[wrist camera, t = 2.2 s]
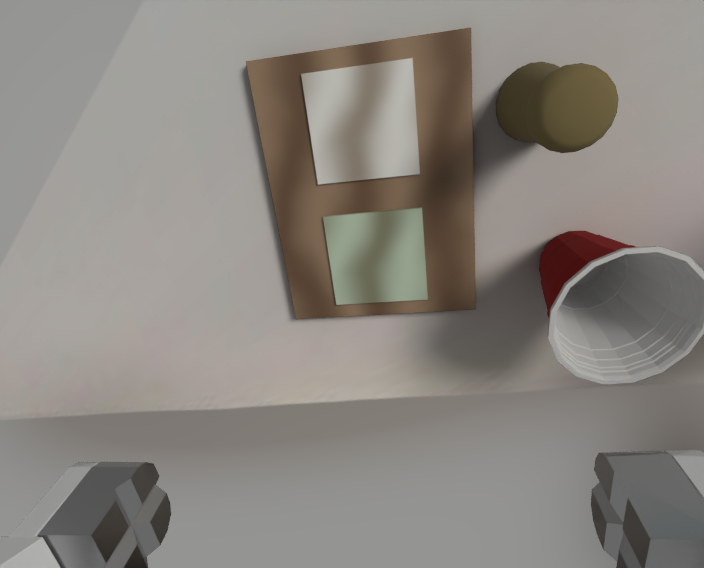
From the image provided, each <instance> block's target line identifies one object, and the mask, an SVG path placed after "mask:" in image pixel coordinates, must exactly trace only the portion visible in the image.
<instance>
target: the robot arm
mask: <svg viewBox="0 0 704 568" xmlns="http://www.w3.org/2000/svg"><path fill="white" fill-rule="evenodd" d="M594 470H595V472H596V475H597V477H598V479H599V481H600V482H599V484H597V485H596V486H595V487H594V488H593V489H592V496H591V508H592V515H593V521H594V525H595V528H596V532H597V535H598V537H599V540H600V542H601V545H602V547H603V549H604V551H606V552H607V553H608V554H609V555H610V556H611V557H613V558H614V559H615V560H616V561H617V567H616V568H704V453H703V452H701V451H700V450H678V451H664V452H662V451H646V452H612V453H611V452H610V453H599V454H598V455H597V457H596V460H595V468H594ZM158 478H159V474H158V472H157V470H156V468H155V466H154V464H152V463H147V462H78V463H76V464H74V465H72V466H70V467H69V468H68V469H67V470H66V471H65V472H64V474H63V475H62V476H61V477H60V478H59V479H58V481H57V482H56V483H55V484H54V485H53V486H52V487H51V488H50V490H49V491H48V492H47V493H46V494H45V495H44V497H43V498H42V499H41V500H40V501H39V502H38V504H37V505H36V506H35V507H34V508H33V509H32V510H31V511H30V513H29V514H28V515H27V516H26V517H25V518H24V520H23V521H22V522H21V523H20V524H19V525H18V527H17V528H16V529H15V530H14V531H13V532H12V533H11V535H10V536H7V537H0V568H148V564H147V556H148V555H149V554H150V553H152V552H153V551H154V550H155V549H156V548H158V547H159V546H160V545H161V543H162V541H163V539H164V537H165V534H166V532H167V530H168V525H169V521H170V516H171V509H170V501H169V499H168V496H167V493H166V492H164V491H163V490H162V489H161V488H159V487H158V486H157V485H156V483H157V480H158Z"/></svg>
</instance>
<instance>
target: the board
mask: <svg viewBox="0 0 704 568" xmlns="http://www.w3.org/2000/svg"><path fill="white" fill-rule="evenodd" d="M246 65H247V70H248V75H249V80H250V86H251V91H252V96H253V101H254V106H255V111H256V116H257V122H258V127H259V132H260V137H261V142H262V147H263V152H264V157H265V163H266V168H267V173H268V178H269V183H270V188H271V193H272V199H273V204H274V209H275V214H276V219H277V224H278V229H279V234H280V240H281V245H282V250H283V255H284V260H285V265H286V270H287V276H288V281H289V286H290V291H291V296H292V301H293V306H294V312H295V317H296V319H306V318H325V317H344V316H362V315H381V314H399V313H418V312H437V311H455V310H474V309H476V296H475V237H474V178H473V119H472V60H471V28H466V29H459V30H452V31H446V32H439V33H432V34H426V35H419V36H412V37H406V38H399V39H392V40H386V41H379V42H373V43H366V44H359V45H353V46H346V47H339V48H333V49H326V50H319V51H313V52H306V53H300V54H293V55H286V56H280V57H273V58H266V59H260V60H253V61H246Z"/></svg>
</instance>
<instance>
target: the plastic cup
mask: <svg viewBox="0 0 704 568" xmlns="http://www.w3.org/2000/svg"><path fill="white" fill-rule="evenodd" d="M539 271H540V275H541V285H542V289H543V293H544V297H545V301H546V305H547V309H548V317H549V327H548V339H549V341H550V344H551V346H552V349H553V351H554V354H555V356H556V358H557V361H558V362H560V363H561V364H562V365H563V366H564V367H566V368H567V369H568V370H569V371H570V372H571V373H573V374H574V375H575V376H576V377H579V378H583V379H586V380H590V381H593V382H596V383H600V384H620V383H634V382H636V381H639V380H642V379H645V378H648V377H651V376H654V375H657V374H659V373H662V372H664V371H665V370H667V369H668V368H669V367H671V366H672V365H674V364H675V363H676V362H678V361H679V360H681V359H682V358H683V357H685V356H686V355H688V354H689V353H690V351H691V350H692V349H693V347H694V346H695V345H696V343H697V342H698V341H699V339H700V338H701V337H702V335H703V334H704V271H703V270H702V269H701V268H700V267H699V266H698V265H697V264H696V263H695V262H694V261H693V260H692V258H691V257H690V256H687V255H684V254H681V253H678V252H675V251H672V250H669V249H666V248H662V247H659V246H650V247H635V246H632V245H626V244H624V243H621V242H618V241H615V240H612V239H609V238H606V237H603V236H600V235H596V234H593V233H590V232H587V231H568V232H566V233H564V234H561V235H559V236H556V237H555V238H554V239H553V240H552V241H550V242H549V243H548V244H547V245H546V247H545V249H544V250H543V252H542V254H541V257H540V267H539Z"/></svg>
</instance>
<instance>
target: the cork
mask: <svg viewBox="0 0 704 568" xmlns="http://www.w3.org/2000/svg"><path fill="white" fill-rule="evenodd" d="M617 106H618V95H617V91H616V86H615V84H614V83H613V81H612V80H611V79H610V77H609V76H608V74H607V73H605V72H604V71H602V70H601V69H599V68H598V67H596V66H592V65H588V64H583V63H580V64H573V65H565V66H563V67H558V66H556V65H554V64H549V63H545V62H537V63H530V64H527V65H525V66H523V67H521V68H519V69H517V70H516V71H515V72H513V73H512V74H511V75H510V76H509V77H508V78H507V79H506V81H505V82H504V84H503V85H502V87H501V88H500V90H499V94H498V97H497V100H496V116H497V119H498V122H499V125H500V126H501V127H502V129H503V130H504V131H505V133H506V134H508V135H509V136H511V137H512V138H514V139H516V140H520V141H525V142H535V141H536V142H537V143H539V144H540V145H542V146H543V147H545V148H547V149H548V150H551V151H555V152H560V153H567V152H576V151H579V150H581V149H584V148H586V147H589V146H591V145H592V144H594V143H595V142H596V141H598V140H599V139H600V138H602V137H603V135H604V134H605V133H606V132H607V130H608V129H609V128H610V127H611V125H612V123H613V120H614V118H615V116H616V113H617Z"/></svg>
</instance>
